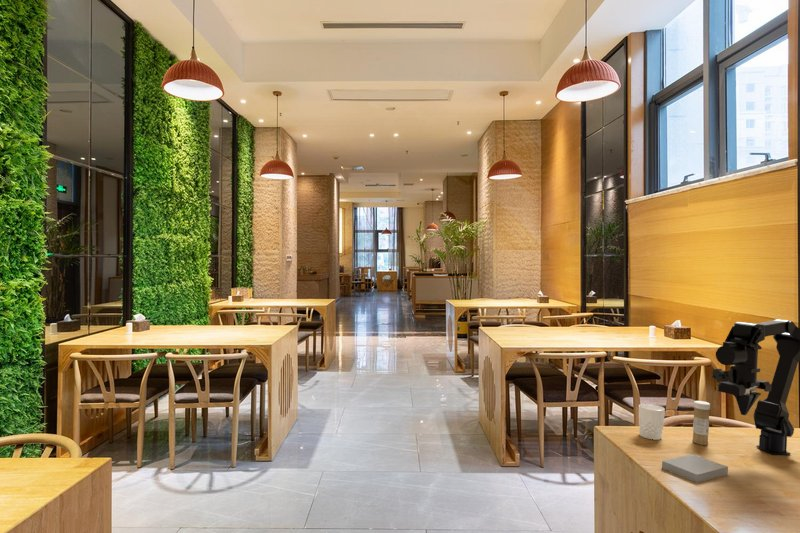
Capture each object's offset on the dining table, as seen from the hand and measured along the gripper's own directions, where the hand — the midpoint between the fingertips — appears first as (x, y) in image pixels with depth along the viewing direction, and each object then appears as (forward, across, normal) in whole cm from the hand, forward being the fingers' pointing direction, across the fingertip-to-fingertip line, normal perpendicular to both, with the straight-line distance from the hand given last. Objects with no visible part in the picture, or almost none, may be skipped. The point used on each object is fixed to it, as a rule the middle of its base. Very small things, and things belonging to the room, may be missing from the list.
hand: (743, 414), depth 152 cm
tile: (+12, +18, +1) cm, 22 cm away
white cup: (+13, +10, -24) cm, 29 cm away
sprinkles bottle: (+13, -1, -13) cm, 19 cm away
